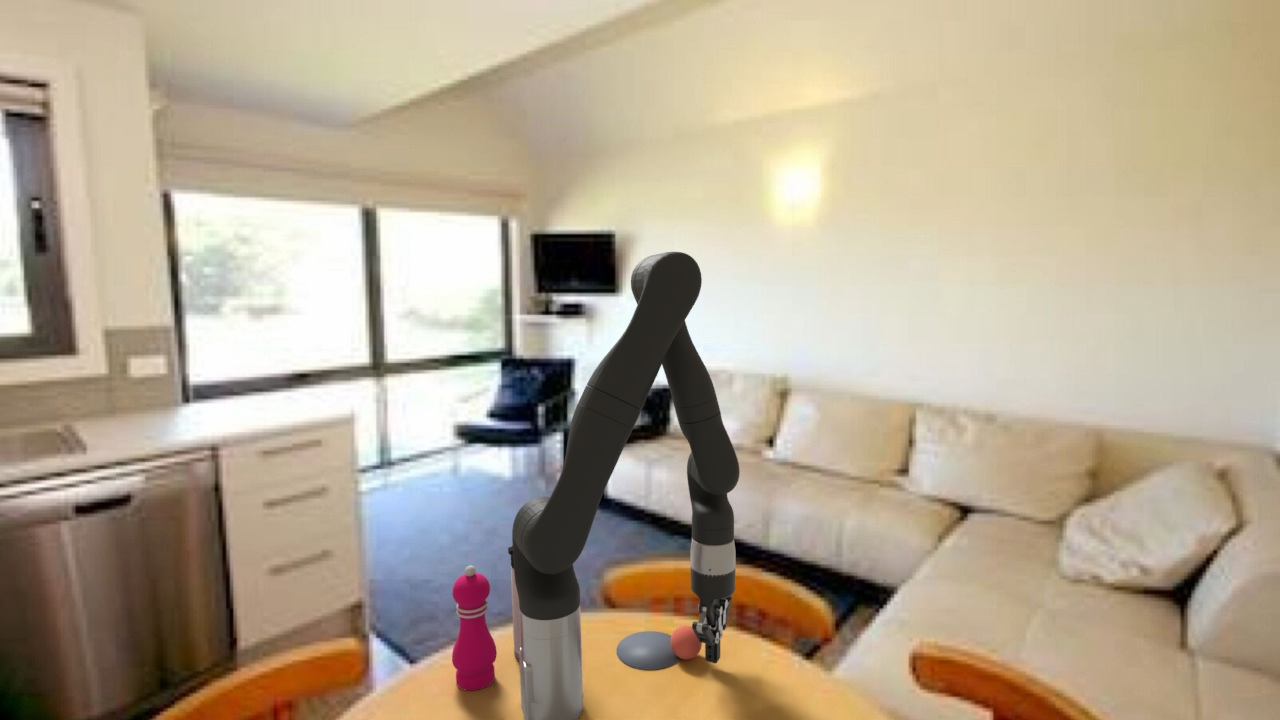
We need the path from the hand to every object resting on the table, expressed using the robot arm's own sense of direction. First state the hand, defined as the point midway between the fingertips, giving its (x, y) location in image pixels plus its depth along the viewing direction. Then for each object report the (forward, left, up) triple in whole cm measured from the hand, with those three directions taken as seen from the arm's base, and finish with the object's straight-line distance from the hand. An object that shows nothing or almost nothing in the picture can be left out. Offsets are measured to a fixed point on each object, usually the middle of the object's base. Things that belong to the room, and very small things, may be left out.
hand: (712, 659), depth 111 cm
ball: (-3, +4, +1) cm, 6 cm away
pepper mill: (-39, +10, -2) cm, 40 cm away
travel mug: (-29, +15, -2) cm, 33 cm away
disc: (-8, +9, -2) cm, 12 cm away
